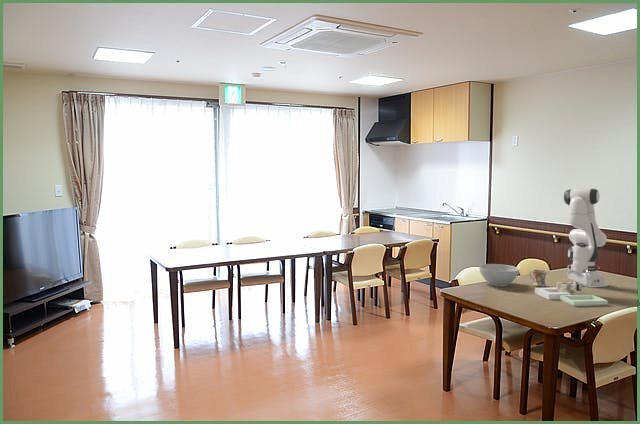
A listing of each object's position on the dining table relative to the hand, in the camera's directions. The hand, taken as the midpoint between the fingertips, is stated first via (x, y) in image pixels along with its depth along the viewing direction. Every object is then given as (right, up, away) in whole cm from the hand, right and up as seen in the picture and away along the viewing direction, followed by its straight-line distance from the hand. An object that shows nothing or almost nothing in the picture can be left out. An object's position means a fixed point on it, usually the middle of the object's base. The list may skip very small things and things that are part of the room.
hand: (578, 289), depth 335 cm
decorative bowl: (-43, -1, +27) cm, 51 cm away
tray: (-6, -6, -18) cm, 20 cm away
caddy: (-6, -4, 0) cm, 7 cm away
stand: (-18, -4, -2) cm, 19 cm away
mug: (-16, -2, +25) cm, 30 cm away
